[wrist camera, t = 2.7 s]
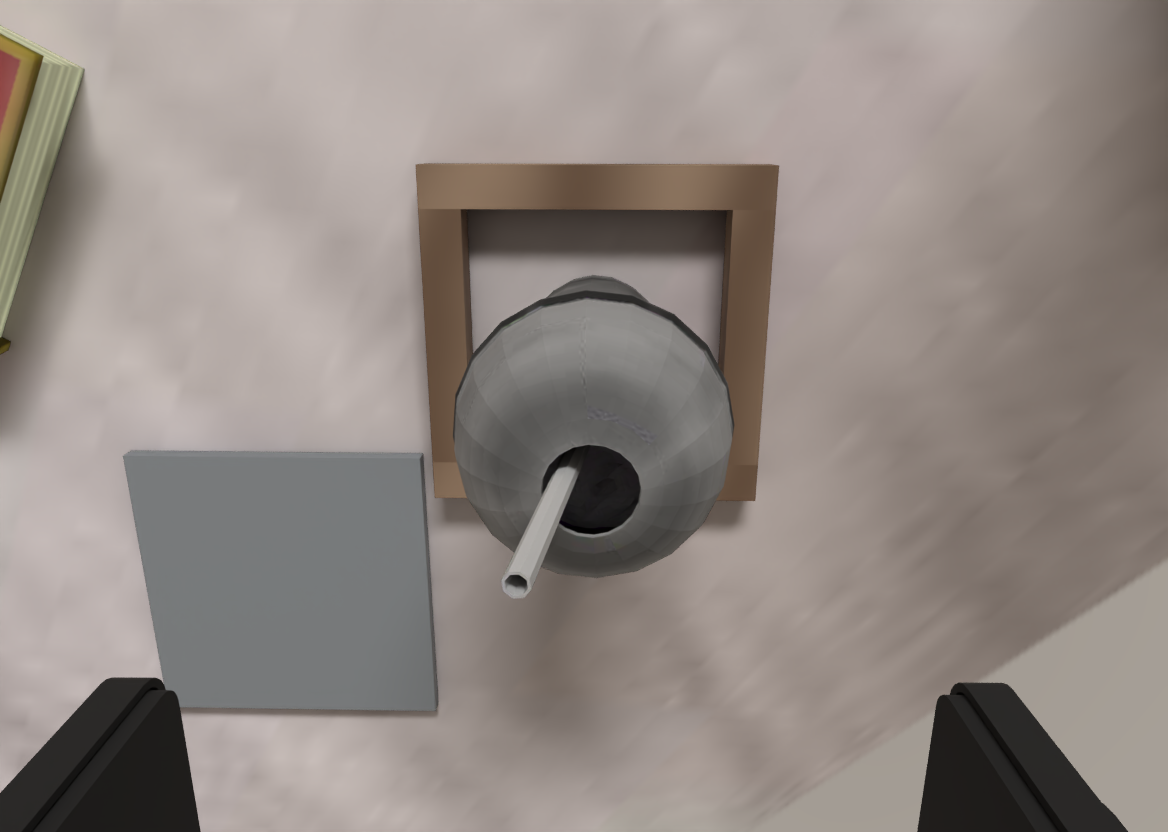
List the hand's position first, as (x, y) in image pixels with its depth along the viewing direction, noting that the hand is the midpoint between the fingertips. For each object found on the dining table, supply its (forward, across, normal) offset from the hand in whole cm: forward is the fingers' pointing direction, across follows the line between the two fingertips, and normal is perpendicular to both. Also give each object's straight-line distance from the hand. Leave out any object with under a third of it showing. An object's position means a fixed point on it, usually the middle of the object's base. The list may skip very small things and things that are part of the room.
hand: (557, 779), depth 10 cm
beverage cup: (+24, -1, -1) cm, 24 cm away
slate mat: (+24, +12, +10) cm, 29 cm away
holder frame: (+24, -1, -1) cm, 24 cm away
